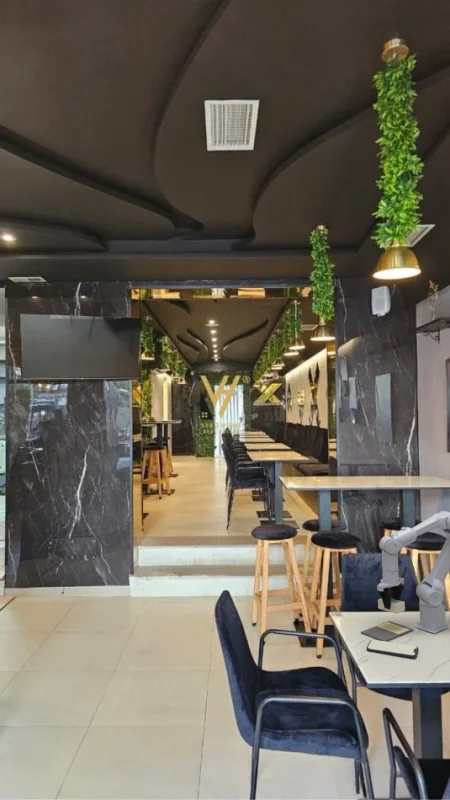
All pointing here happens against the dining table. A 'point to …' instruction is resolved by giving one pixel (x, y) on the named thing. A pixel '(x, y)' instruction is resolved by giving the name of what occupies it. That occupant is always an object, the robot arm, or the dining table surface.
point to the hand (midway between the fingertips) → (391, 606)
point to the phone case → (393, 649)
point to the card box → (393, 606)
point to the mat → (387, 631)
